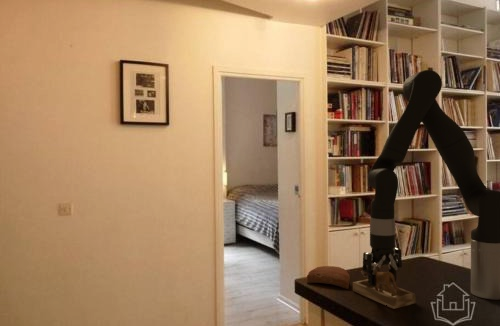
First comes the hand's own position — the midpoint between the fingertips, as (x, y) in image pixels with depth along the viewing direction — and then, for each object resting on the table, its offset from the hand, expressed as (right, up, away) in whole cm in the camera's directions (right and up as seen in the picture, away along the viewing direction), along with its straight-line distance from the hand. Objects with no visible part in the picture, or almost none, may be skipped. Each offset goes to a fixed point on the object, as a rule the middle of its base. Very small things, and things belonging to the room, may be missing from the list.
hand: (382, 283), depth 121 cm
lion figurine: (0, -3, -1) cm, 3 cm away
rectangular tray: (0, -4, 0) cm, 4 cm away
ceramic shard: (-12, -5, +17) cm, 21 cm away
